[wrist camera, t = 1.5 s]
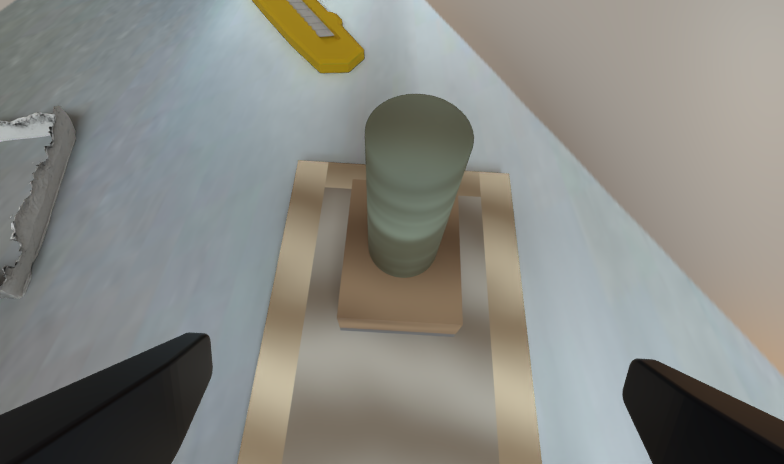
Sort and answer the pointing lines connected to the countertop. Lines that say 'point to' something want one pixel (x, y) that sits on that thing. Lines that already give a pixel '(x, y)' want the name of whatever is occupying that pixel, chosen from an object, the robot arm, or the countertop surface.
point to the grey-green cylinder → (407, 221)
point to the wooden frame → (392, 347)
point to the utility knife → (314, 33)
